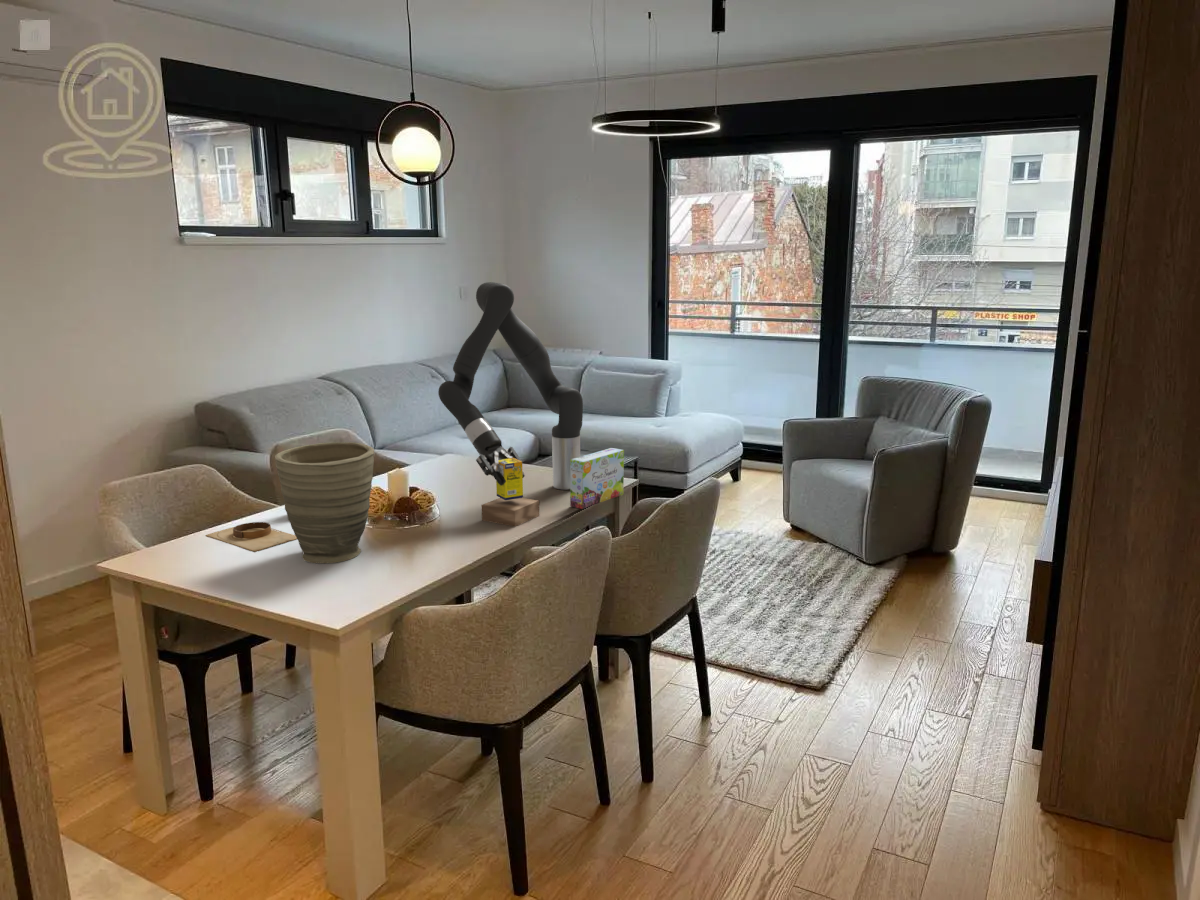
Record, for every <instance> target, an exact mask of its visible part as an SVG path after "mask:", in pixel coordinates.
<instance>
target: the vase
mask: <svg viewBox="0 0 1200 900" xmlns="http://www.w3.org/2000/svg"><path fill="white" fill-rule="evenodd" d="M374 453H375V449H374V447H372V446H370V445H368V444H365V443H359V442H353V441H352V442H351V441H350V442H319V443H314V444H307V445H301V446H296V447H292V448H289V449H285V450H282V451H280V452H278V453H277V454H275V455H274V458H275V459H274V460H275V467H276V471H277V476H278V478H279V482H280V492H281V494H282V497H283V501H284V510H285V512H286V516H287V520H288V522H289V524H290V527H291V530H292V531H293V533H294V535H296V537H297V541H298V545H299V546H300V549H301V551H302V553H303V554H302V555H301V558H302V559H303V560H304V561H305V562H307V563H310V564H311V563H312V564H333V563H341V562H345V561H349V560H352V559H355V558H356V557H358V556H359V555H360V554H361V552H362V550H361V549H362V548H360V547H359V543H360V542H361V538H362V535H363V534H364V532H365V529H366V524H367V522H368V517H369V511H370V510H369V509H370V507H371V504H370V498H371V489H372V486H373V485H372V482H373V478H374V477H373V476H374V475H373V472H374V464H375V461H374V460H375V458H374V457H375V455H374Z"/></svg>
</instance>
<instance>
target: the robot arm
mask: <svg viewBox="0 0 1200 900" xmlns="http://www.w3.org/2000/svg"><path fill="white" fill-rule="evenodd" d="M475 299H476V300H475V301H476V303H477V305H478V307H479V308H480V309H481V311H482V312H483V313H482V316H481V318H480V321H479V322H478V324H477V325H476V327H475V328H474V329H473V331H472V332H471V333H470V335H469V336H468V337H467V338H466V339H465V341H464V343H463V344H462V346H461V347H460V350H459V352H458V354H457V357H456V359H455V362H454V364H453V366H452V370H453V372H454V378H453V380H447V381H446V380H445V381H443V382H442V383H441V384H440V385H439V388H438V397H439V400H440V401H441V404H442V405H444V407H445V408H446V409H447V410H448V411H449V413H450V414H451V415H453V417H454V418H455V419H456V421H457V422H458V423H459V426H460V427H461V428H462V430H463V431H464V432H465V434H466V437H467V438H468V440H469V441H470V443H471V444H472V446H473V447H474V449H475V450H476V452H477V454H478V457H477V458H476V459H475V461H476V462H477V463H476V464H477V465H478V466H479V467H480V469H481V470H482V472H483V473H484V475H485V476H486V477H487V476H489V475H490V476H491V477H493V478H494V479H495V482H496V481H497V482H498V484H500V485H501V486H502V485H504V483H505V482H506V480H505V479H504V477H503V476H502V474H501V473H500V471H498V464H499V462H498V461H499V460H502V459H509V458H515V459H517V460H519V461H521V462H522V463H523V460H522V459H521V457H520V456H519V454H518V453H517V452H516V450H515V448H513V446H509V448H507V449H505V448H504V447H503V444H502V440H501V438H500V437H499V435H498V434H497V432H496V431H495V430H494V428H493V427H492V426H491V424H490V423H489V421H487V420H486V418H485V417H484V415H483V414H482V413H481V411H480V409H479V408H478V407H477V406H476V405H474V404H473V403H472V402H471V401H470V400H469V399H470V397H471V394H472V392H473V387H474V382H475V377H476V376H475V375H476V374H477V371H478V369H479V367H480V365H481V362H482V361H483V358H484V356H485V353H486V352H487V350H488V347H489V345H490V344H491V342H492V340H493V339H494V336H495V335H496V334H497V332H498V331H499V333H500V335H501V336H502V338H503V340H504V341H505V343H506V344H507V345H508V348H509V349H510V350H511V352H512V353H513V355H514V357H516V360H518V362H519V364H520V365H521V366H522V368H523V369H524V371H525V372H526V373H527V374H528V376H529V378H530V379H531V380H532V382H533V383H534V385H535V386H536V388H537V389H538V391H539V393H540V395H541V397H542V399H543V400H544V402H545V404H546V405H547V408H548V409H549V411H551V412H552V413H553V414H557V415H558V423H557V424H556V425H554V426H553V427H552V428H551V447H552V448H551V452H552V456H551V457H552V459H551V460H552V487H553V488H554V489H556V490H557V489H558V490H563V491H564V490H567V491H568V490H570V460H571V459H574V458H578V457H581V429H582V426H583V418H584V417H583V416H584V413H583V412H584V402H583V400H584V399H583V396H582V393H581V392H580V391H579V390H578V389H576V388H574V387H573V388H572V387H569V386H568V387H567V386H564V384H562V383H561V381H559V379H558V378H557V377H556V375H555V373H554V372H553V370H552V367H551V360H550V355H549V353H548V351H547V349H546V347H545V345H544V344H543V342H542V341H541V339H540V338H539V336H537V334H536V333H535V332H534V331H533V330H532V329H531V327H529V326H528V325H527V324H526V323H524V322H523V321H522V320H521V318H519V317H518V316H517V314H516V313H515V312H514V311H513V309H512V307H513V305H514V302H515V294H514V291H513V290H512V288H511V287H510V286H509V285H507V284H504V283H499V282H494V281H486V282H484V283H481V284H480V285H479V286H478V287H477V290H476V292H475ZM522 473H523V479H524V477H525V476H526V475H525V473H524V471H523V470H522Z"/></svg>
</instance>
